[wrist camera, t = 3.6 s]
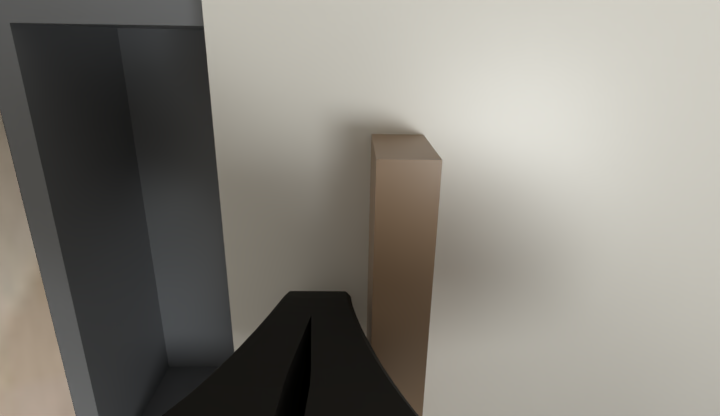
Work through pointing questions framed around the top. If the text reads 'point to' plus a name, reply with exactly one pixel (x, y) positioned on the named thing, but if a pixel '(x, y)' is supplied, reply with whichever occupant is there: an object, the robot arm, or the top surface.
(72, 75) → the storage box
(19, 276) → the top surface
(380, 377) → the robot arm
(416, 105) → the lid
